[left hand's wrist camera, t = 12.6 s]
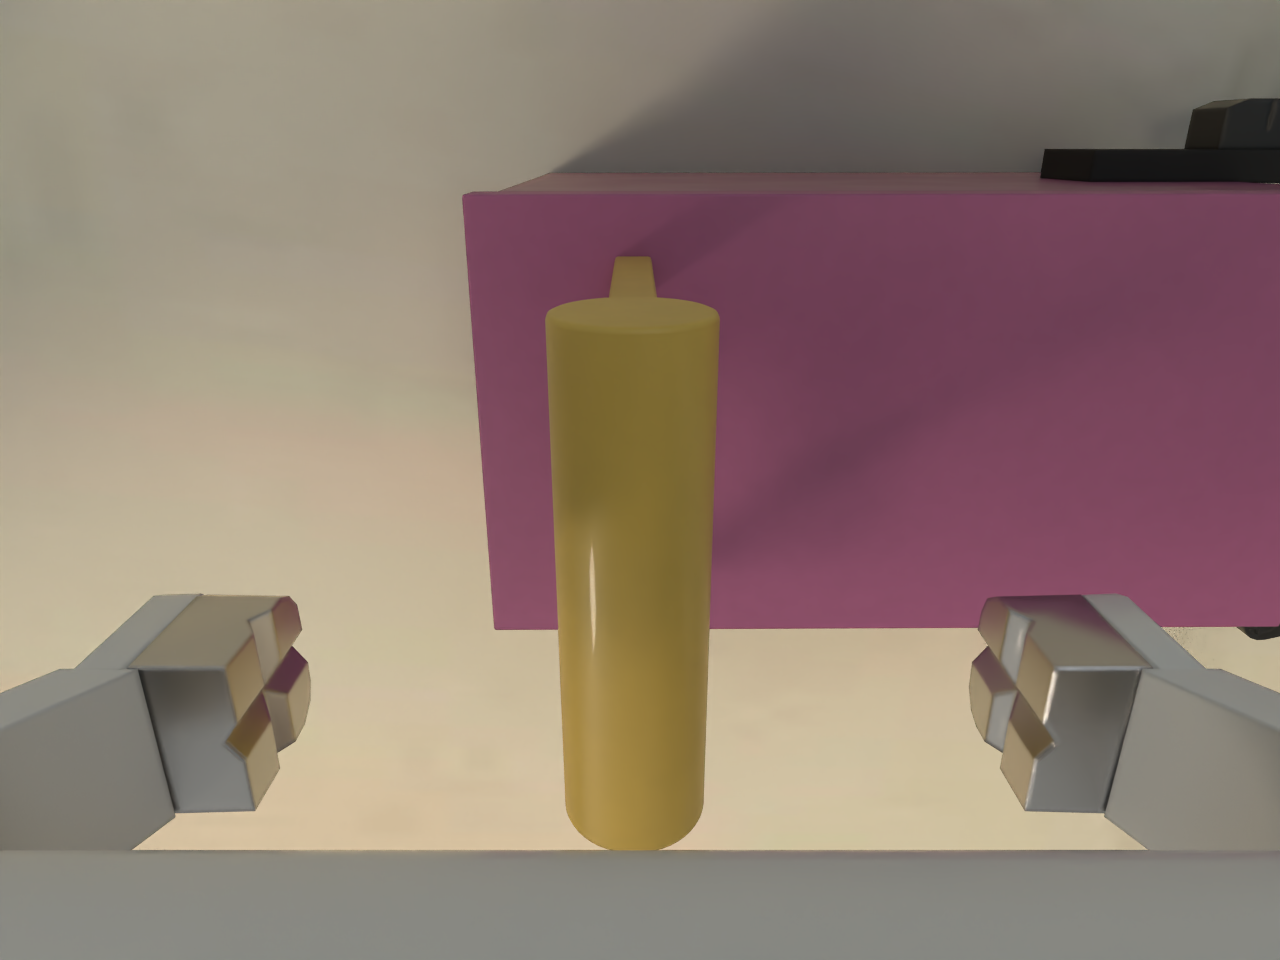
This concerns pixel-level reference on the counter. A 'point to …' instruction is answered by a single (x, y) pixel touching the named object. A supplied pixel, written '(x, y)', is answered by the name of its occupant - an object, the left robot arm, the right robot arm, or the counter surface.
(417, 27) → the counter surface
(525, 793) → the counter surface
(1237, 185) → the chest
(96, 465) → the counter surface
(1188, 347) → the lid
